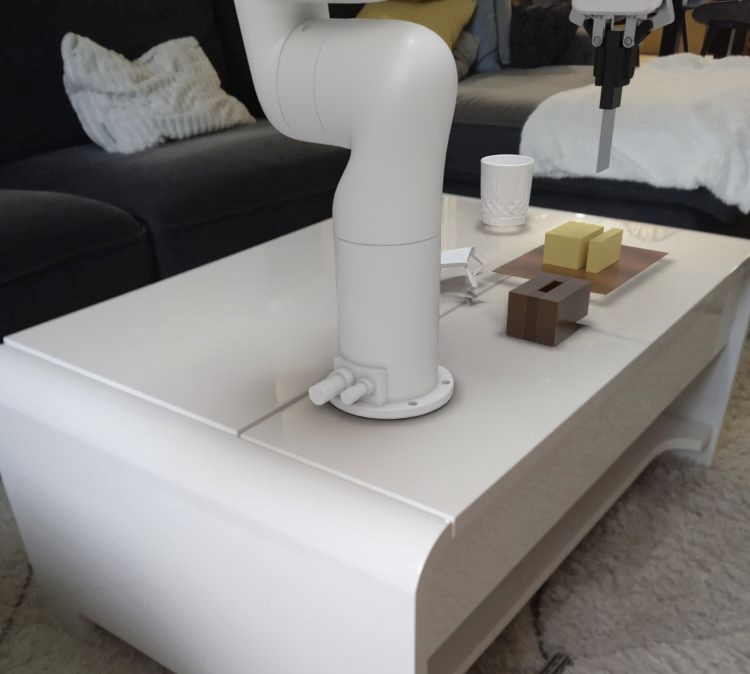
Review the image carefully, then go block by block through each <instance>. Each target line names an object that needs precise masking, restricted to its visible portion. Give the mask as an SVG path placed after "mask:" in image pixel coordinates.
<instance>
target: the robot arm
mask: <svg viewBox="0 0 750 674" xmlns="http://www.w3.org/2000/svg"><path fill="white" fill-rule="evenodd" d="M385 1H387V0H233V3H234V7H235V12H236V16H237V21H238V24H239V28H240V33H241V37H242V41H243V46H244V50H245V54H246V58H247V62H248V66H249V71H250V74H251V79H252V83H253V86H254V90H255V93H256V96H257V100H258V102H259V104H260V107H261V109H262V111H263V113H264V115H265V117H266V118H267V120H268V121H269V123H270V125H272V127H274V128H275V129H276V130H277V131H278V132H280V134H282V135H284V136H285V137H288V138H290V139H293V140H297V141H300V142H307V143H313V144H320V145H328V146H335V147H341V148H343V149H348V150H351V151H350V156H349V159H348V162H347V164H346V167H345V168H344V171H343V173H342V175H341V177H340V179H339V181H338V184H337V187H336V189H335V192H334V195H333V200H332V210H331V211H332V215H331V216H332V217H331V218H332V233H333V234H332V235H333V252H334V253H333V254H334V273H335V275H334V276H335V293H336V294H335V295H336V312H337V313H336V315H337V335H338V336H337V337H338V352H339V353H338V354H339V355H337V356H334V357H333V369H332V370H331V371H330V372H329V374H328V375H327V376H326V378H324V379H322V380H321V381H318V382H316V383H314V384H313V385H311V386H309V388H308V398H309V399H310V401H311V402H312V403H313V404H314V405H316V406H322V405H324V404H325V403H327V402H330V403H331V404H332V405H333V406H334V407H336V408H337V409H339V410H341V411H342V412H345V413H347V414H350V415H353V416H357V417H361V418H367V419H376V420H398V419H408V418H409V419H410V418H413V417H418V416H422V415H425V414H428V413H432V412H434V411H436V410H438V409H439V408H441V407H442V406H445V404H447V403H448V402H449V401H450V400H451V399H452V396H453V395H454V388H455V380H454V376H453V375H452V373H451V371H449V370H448V369H447V368H445V366H444V365H441V364H439V353H440V352H439V350H440V349H439V348H440V311H441V310H440V307H441V305H440V303H441V302H440V301H441V269H442V268H441V252H442V216H443V215H442V213H443V211H442V210H443V189H444V188H443V186H444V176H445V174H444V173H445V165H446V157H447V150H448V143H449V138H450V134H451V129H452V123H453V119H454V114H455V109H456V103H457V99H458V87H459V86H458V84H459V79H458V78H459V77H458V69H457V64H456V59H455V57H454V54H453V53H452V51H451V49H450V47H449V45H448V44H447V43H446V41H445V40H444V39H443V38H442V37H441V36H440V35H439V34H438V33H436V31H434V30H432V29H430V28H428V27H427V26H424V25H422V24H419V23H416V22H413V21H409V20H402V19H390V18H389V19H388V18H359V17H358V18H357V17H356V18H355V17H354V18H353V17H352V18H332V17H331V18H330V12H329V4H372V3H379V2H385ZM655 13H656V14H655ZM648 14H655V15H654V16H651V17H649V18H648ZM592 15H593V16H592ZM615 16H626V19H625V26H624V29H625V32H624V39H623V42H622V47H621V48H619V49H618V50H617V57H616V65H615V73H614V81H613V86H615V87H618V88H620V87H623V88H624V87H626V86H629V85H630V84H631V80H632V79H633V78H634V76H635V71H636V65H637V64H636V63H637V57H638V49H639V46H641V45H642V44H643V42H644V40H645V39H647V37H648V36H650V35H651V34H652V32H653V31H655V30H658V29H660V28H662V27H665V26H667V25H670V24H672V23H674V21H675V20H676V19H675V18H676V17H675V10H674V4H673V0H571V9H570V13H569V16H568V20H569V21H570V22H571V23H573V24H575V25H577V26H579V27H580V28H583V29H584V30H585V32H586V33H587V35H588V36H589V38H590V39H591V43H592V45H593V47H595V52H594V60H593V69H592V76H593V78H594V87H601V86H602V78H603V69H604V60H605V51H606V40H607V31H608V30H613V29H614V23H615ZM440 268H441V269H440Z"/></svg>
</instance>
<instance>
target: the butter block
mask: <svg viewBox="0 0 750 674" xmlns="http://www.w3.org/2000/svg"><path fill="white" fill-rule="evenodd" d="M604 230H605V226H604V225H599V224H594V223H587V222H580V221H574V220H569V221H566V222H564V223H563V224H561V225H558V226H557V227H555V228H553V229H551V230H548V231H547V232H545V233H544V234H545V235H544V243H543V244H544V254H543V263H544V264H549V265H555V266H560V267H565V268H570V269H575V270H578V269H579V268H581V267H583V266H584V265H586V264H587V257H588V249H589V241H590V240H591V239H593V238H595V237H597V236H599V235H601V234H602V233H604V232H605V231H604Z"/></svg>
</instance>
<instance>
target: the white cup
mask: <svg viewBox="0 0 750 674" xmlns="http://www.w3.org/2000/svg"><path fill="white" fill-rule="evenodd" d="M534 167H535V159H534V158H533V157H530V156H527V155H521V154H495V155H493V154H492V155H488V156H485V157H482V158H481V159H480V209H481V218H480V220H481V222H482V223H483V224H484V225H488V226H491V227H492V226H493V227H498V228H499V227H503V228H504V227H505V228H507V227H508V228H509V227H518V226H521V225H524V224H526V222H527V216H528V211H529V206H530V200H531V199H530V198H531V192H532V184H533V174H534Z"/></svg>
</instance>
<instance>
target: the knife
mask: <svg viewBox="0 0 750 674" xmlns="http://www.w3.org/2000/svg"><path fill="white" fill-rule="evenodd" d="M624 32H625V28H613V30H608V31H607V40H606V51H605V60H604V69H603V78H602V86H600V96H599V105H598V110H602V116H601V124H600V132H599V143H598V153H597V160H596V170H595V174H599V173H601V172H603V171H606V170H607V169H609V168H610V161H611V154H612V153H611V152H612V145H613V135H614V128H615V119H616V110H617V108H620V107H621V103H622V95H623V88H624V86H623V87H620V88H618V87H615V86H613V81H614V73H615V65H616V57H617V50H618V49H619V48H621V47H622V42H623V39H624Z"/></svg>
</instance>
